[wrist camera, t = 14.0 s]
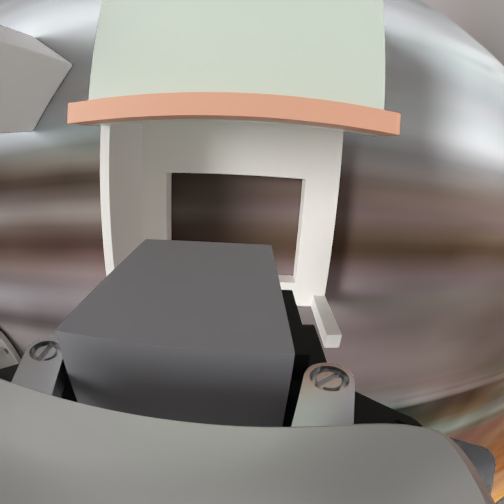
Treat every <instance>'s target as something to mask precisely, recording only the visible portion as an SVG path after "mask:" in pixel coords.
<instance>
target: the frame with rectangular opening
mask: <svg viewBox="0 0 504 504" xmlns="http://www.w3.org/2000/svg"><path fill="white" fill-rule="evenodd" d="M342 146H343V132H342V131H334V130H326V129H318V128H309V127H299V126H288V125H275V124H261V123H241V122H204V121H184V122H147V123H128V124H114V125H102V126H101V136H100V194H101V217H102V233H103V246H104V257H105V267H106V275H107V276H108V275H109V274H110V273H111V272H112V271H113V270H114V269H115V268H116V267H117V266H118V265H119V264H120V263H121V262H122V261H123V260H124V259H125V258H126V257H127V256H128V255H129V254H130V253H131V252H132V251H134V250H135V249H136V248H137V247H138V246H139V245H140V244H141V243H142V242H143V241H144V240H145V239H155V240H172V238H171V180H172V173H210V174H235V175H254V176H271V177H285V178H298V179H303V180H302V192H301V204H300V215H299V225H298V236H297V246H296V255H295V265H294V274H293V275H278V277H279V282H280V286H281V290H292V291H293V295H294V298H295V302H296V305H297V306H311V308H312V311H313V314H314V317H315V320H316V323H317V326H318V329H319V332H320V336H321V339H322V342H323V345H324V348H334V347H339V345H340V340H341V336H342V334H341V332H340V330H339V327H338V325H337V323H336V320H335V318H334V316H333V313H332V311H331V309H330V307H329V304H328V302H327V300H326V297H325V291H326V284H327V278H328V271H329V264H330V257H331V250H332V243H333V235H334V227H335V219H336V210H337V201H338V191H339V181H340V171H341V159H342Z"/></svg>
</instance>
